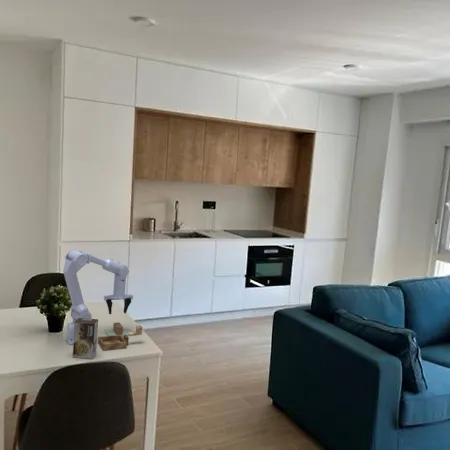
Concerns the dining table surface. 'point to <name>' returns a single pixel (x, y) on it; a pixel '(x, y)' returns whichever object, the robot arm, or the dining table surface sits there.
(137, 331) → the mallet
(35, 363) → the dining table surface
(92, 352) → the cookie box
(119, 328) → the toolbox lid
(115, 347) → the toolbox
